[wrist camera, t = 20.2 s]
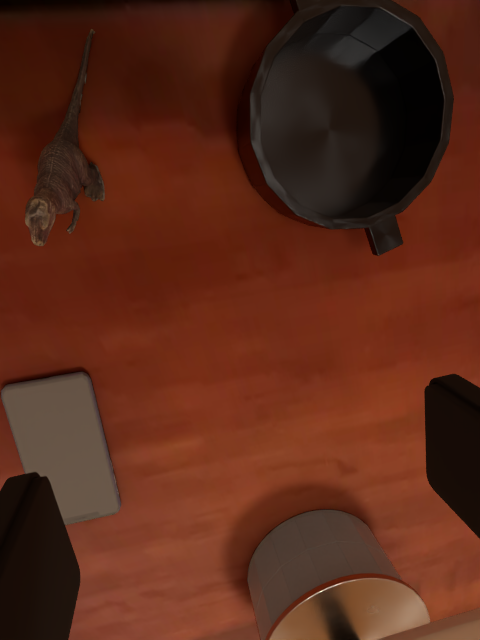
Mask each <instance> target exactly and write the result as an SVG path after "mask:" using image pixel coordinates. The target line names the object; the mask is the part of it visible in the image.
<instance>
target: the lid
mask: <svg viewBox="0 0 480 640" xmlns="http://www.w3.org/2000/svg"><path fill="white" fill-rule="evenodd" d="M428 623H430V618H429V614H428V610H427V608H426V606H425V604H424V602H423V600H422V599H421V597H420V596H419V594H418V593H417V592H416V591H415V590H414V589H413V588H412V587H411V586H410V585H408V584H407V583H405V582H404V581H402V580H400V579H397V578H395V577H392V576H388V575H384V574H376V573H360V574H353V575H347V576H343V577H339V578H336V579H333V580H330V581H327V582H325V583H323V584H321V585H319V586H317V587H315V588H313V589H311V590H310V591H308V592H306V593H305V594H303V595H302V596H301V597H299V598H298V599H296V600H295V601H294V602H293V603H292V604H291V605H289V606H288V607H287V608H286V609H285V610H284V611H283V613H282V614H281V615H280V616H279V617H278V618H277V620H276V621H275V622H274V624H273V625H272V627H271V629H270V630H269V632H268V634H267V636H266V639H265V640H377V639H381V638H384V637H387V636H390V635H393V634H397V633H400V632H403V631H406V630H409V629H412V628H416V627H419V626H422V625H425V624H428Z"/></svg>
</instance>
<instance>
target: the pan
mask: <svg viewBox="0 0 480 640" xmlns="http://www.w3.org/2000/svg"><path fill="white" fill-rule="evenodd" d="M290 3H291V6H292V9H293V12H294V15H293V17H292V18H291V19H290V20H289V21H288V22H287V23H286V25H285V26H284V27H283V28H282V29H281V30H280V31H279V33H278V34H277V35H276V36H275V37H274V38H273V39H272V41H271V42H270V43H269V44H268V45H267V46H266V48H265V49H264V51H263V52H262V54H261V55H260V57H259V58H258V59H257V61H256V62H255V64H254V65H253V67H252V69H251V71H250V73H249V76H248V79H247V82H246V84H245V87H244V89H243V92H242V95H241V99H240V102H239V105H238V109H237V141H238V150H239V153H240V157H241V160H242V163H243V166H244V169H245V171H246V173H247V175H248V177H249V180H250V181H251V183H252V186H253V187H254V188H255V189H256V191H257V192H258V193H259V194H260V195H261V197H262V198H263V199H264V200H265V201H266V202H267V203H268V204H269V205H270V206H272V207H273V208H274V209H275V210H276V211H277V212H278V213H280V214H282V215H285V216H287V217H289V218H291V219H293V220H296V221H299V222H302V223H304V224H306V225H309V226H314V227H320V228H326V229H355V228H364V229H365V232H366V235H367V238H368V241H369V244H370V247H371V250H372V254H373V255H377V256H379V255H381V254H383V253H385V252H387V251H389V250H392V249H394V248H396V247H398V246H400V245H402V244H403V240H402V237H401V234H400V230H399V227H398V224H397V220H396V217H395V215H396V214H399V213H401V212H403V211H404V210H405V209H406V208H407V207H408V206H409V205H410V204H411V203H412V201H413V200H414V199H415V198H416V197H417V196H418V195H419V194H420V193H421V192H422V191H423V190H424V189H425V188H426V187H427V186H428V185H429V184H430V182H431V181H432V179H433V177H434V175H435V172H436V170H437V168H438V166H439V163H440V161H441V159H442V157H443V155H444V152H445V150H446V148H447V146H448V144H449V138H450V129H451V120H452V110H453V101H454V98H453V92H452V87H451V83H450V79H449V74H448V70H447V66H446V61H445V57H444V54H443V51H442V50H441V48H440V47H439V45H438V44H437V42H436V41H435V39H434V38H433V37H432V35H431V34H430V32H429V31H428V29H427V28H426V26H425V25H424V23H423V22H422V20H421V19H420V17H418V16H417V15H415V14H413V13H412V12H410V11H408V10H407V9H405V8H403V7H402V6H400V5H399V4H397V3H395V2H394V1H392V0H290Z"/></svg>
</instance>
